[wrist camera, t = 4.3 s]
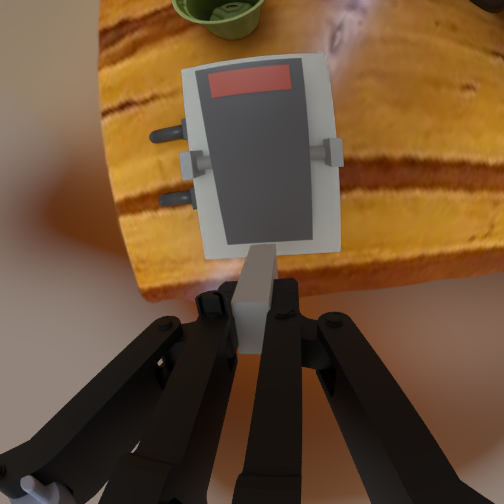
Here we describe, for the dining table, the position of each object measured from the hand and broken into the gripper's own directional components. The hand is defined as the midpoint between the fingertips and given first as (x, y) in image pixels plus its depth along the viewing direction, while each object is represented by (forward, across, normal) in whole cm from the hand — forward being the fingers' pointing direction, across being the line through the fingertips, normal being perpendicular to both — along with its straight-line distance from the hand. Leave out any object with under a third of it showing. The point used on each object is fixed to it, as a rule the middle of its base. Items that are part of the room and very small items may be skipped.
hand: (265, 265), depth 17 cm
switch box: (+17, -4, +6) cm, 18 cm away
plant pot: (+17, -2, +24) cm, 30 cm away
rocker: (+8, 0, +6) cm, 10 cm away
